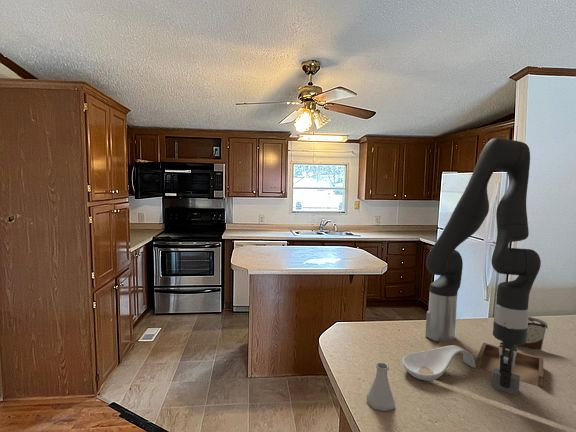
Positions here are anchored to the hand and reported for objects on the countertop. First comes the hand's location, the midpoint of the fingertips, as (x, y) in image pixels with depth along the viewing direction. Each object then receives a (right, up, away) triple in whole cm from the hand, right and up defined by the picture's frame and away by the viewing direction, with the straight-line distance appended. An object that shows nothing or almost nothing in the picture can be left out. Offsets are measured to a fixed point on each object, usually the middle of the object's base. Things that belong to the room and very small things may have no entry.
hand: (505, 382), depth 89 cm
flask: (-35, -3, -5) cm, 36 cm away
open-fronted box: (+8, -2, +10) cm, 13 cm away
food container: (+24, -1, +28) cm, 37 cm away
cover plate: (0, -4, 0) cm, 4 cm away
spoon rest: (-14, -2, +10) cm, 17 cm away
